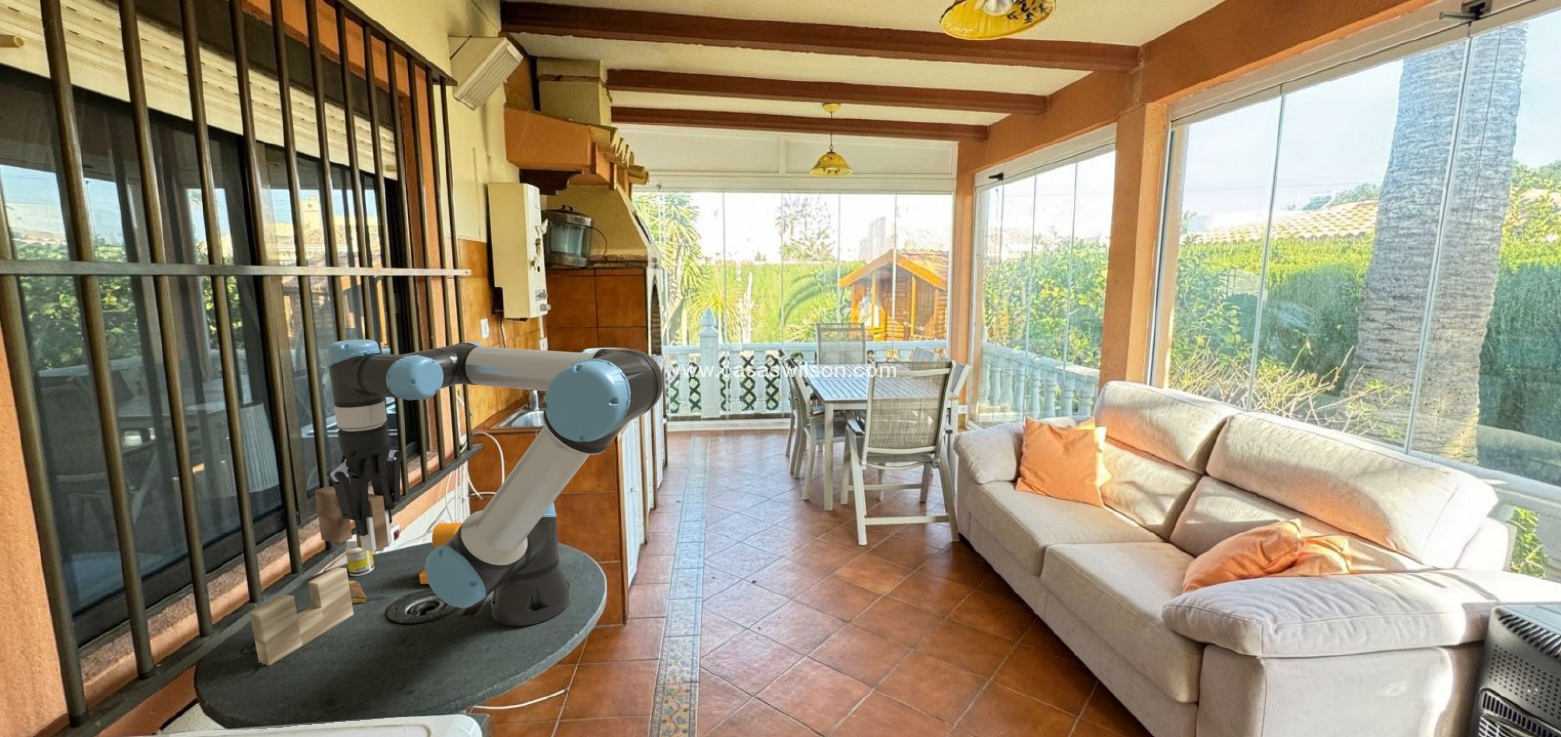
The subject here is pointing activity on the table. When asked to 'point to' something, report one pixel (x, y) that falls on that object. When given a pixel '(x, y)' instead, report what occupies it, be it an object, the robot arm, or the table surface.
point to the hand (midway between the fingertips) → (376, 545)
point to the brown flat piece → (356, 592)
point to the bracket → (440, 540)
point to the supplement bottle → (358, 558)
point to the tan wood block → (339, 527)
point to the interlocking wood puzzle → (301, 617)
